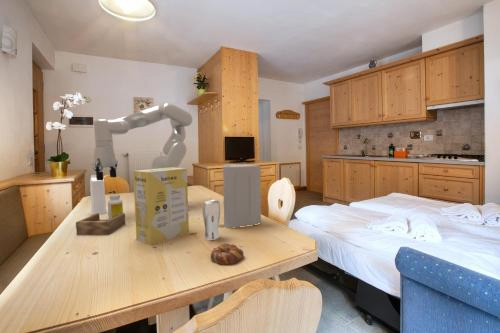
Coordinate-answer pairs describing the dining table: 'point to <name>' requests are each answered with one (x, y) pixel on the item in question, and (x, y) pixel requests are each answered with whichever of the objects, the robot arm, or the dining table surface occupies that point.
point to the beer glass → (211, 219)
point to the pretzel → (226, 254)
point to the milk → (97, 195)
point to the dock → (99, 225)
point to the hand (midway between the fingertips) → (106, 178)
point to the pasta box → (160, 204)
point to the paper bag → (241, 195)
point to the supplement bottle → (115, 206)
